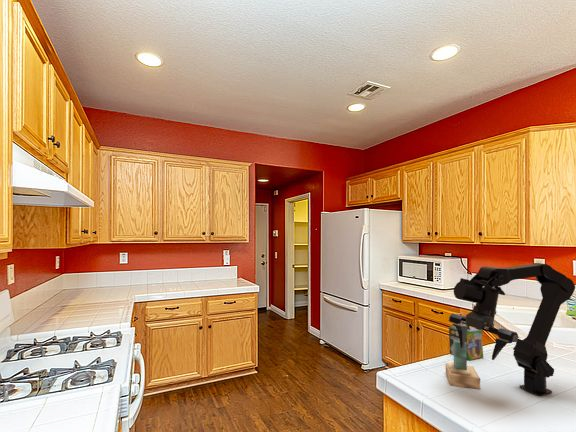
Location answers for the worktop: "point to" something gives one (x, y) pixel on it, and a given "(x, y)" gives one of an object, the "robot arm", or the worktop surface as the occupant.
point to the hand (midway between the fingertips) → (476, 353)
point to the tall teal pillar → (459, 359)
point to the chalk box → (468, 342)
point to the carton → (464, 378)
